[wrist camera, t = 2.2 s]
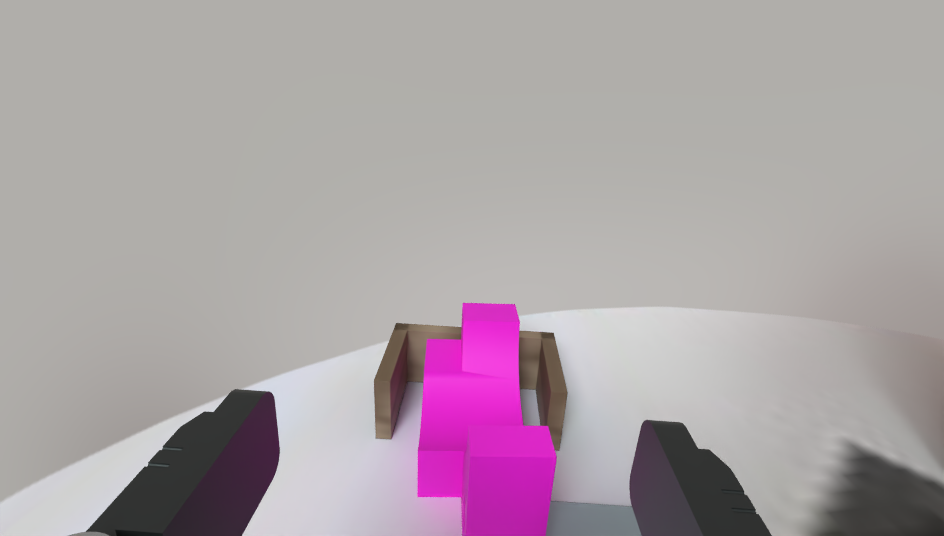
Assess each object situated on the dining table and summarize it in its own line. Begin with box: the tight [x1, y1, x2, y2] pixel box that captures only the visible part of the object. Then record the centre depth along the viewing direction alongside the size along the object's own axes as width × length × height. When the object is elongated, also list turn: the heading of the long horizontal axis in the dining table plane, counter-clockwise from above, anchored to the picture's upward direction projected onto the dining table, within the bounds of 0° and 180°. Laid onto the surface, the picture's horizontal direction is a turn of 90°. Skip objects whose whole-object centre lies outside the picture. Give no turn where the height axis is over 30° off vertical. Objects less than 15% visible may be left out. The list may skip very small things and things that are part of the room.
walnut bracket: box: [374, 323, 567, 450], centre depth 35 cm, size 12×8×4 cm, turn 88°
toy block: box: [418, 303, 557, 536], centre depth 29 cm, size 15×6×8 cm, turn 2°
